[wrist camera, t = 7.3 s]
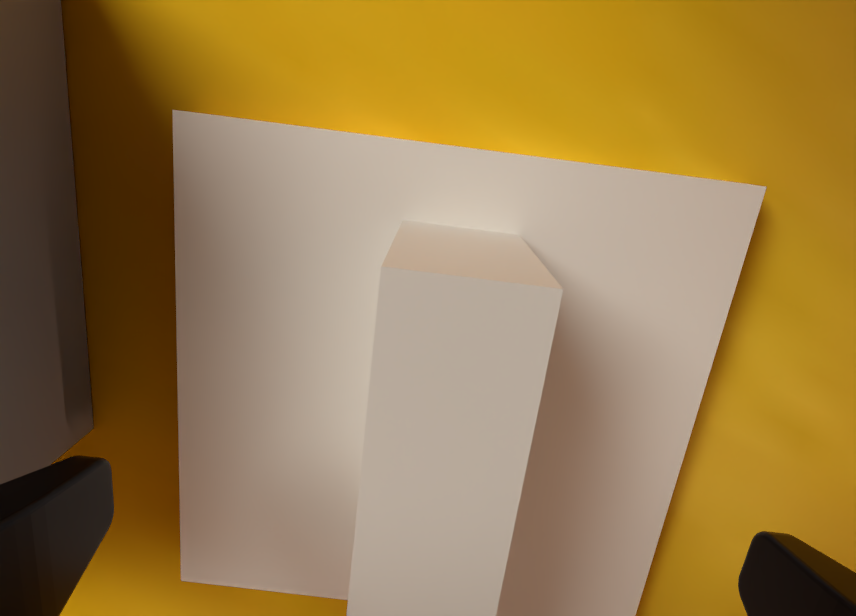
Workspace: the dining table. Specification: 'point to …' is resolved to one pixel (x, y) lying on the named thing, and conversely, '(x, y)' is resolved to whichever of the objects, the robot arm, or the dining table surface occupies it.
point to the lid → (437, 366)
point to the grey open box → (38, 248)
